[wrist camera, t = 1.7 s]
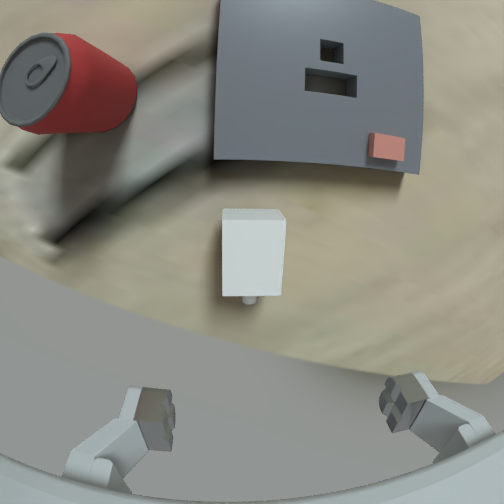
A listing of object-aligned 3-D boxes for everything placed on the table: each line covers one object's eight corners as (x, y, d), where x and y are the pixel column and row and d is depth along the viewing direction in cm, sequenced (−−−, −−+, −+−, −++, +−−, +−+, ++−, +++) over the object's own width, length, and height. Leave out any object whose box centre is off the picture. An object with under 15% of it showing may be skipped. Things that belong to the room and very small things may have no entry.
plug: (223, 282, 29) (222, 313, 24) (223, 203, 26) (222, 219, 21) (270, 282, 30) (279, 313, 24) (274, 204, 27) (286, 220, 22)
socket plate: (215, 157, 25) (213, 160, 22) (222, -9, 19) (222, -27, 16) (405, 170, 26) (424, 176, 23) (406, 22, 21) (424, 13, 18)
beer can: (150, 109, 23) (93, 91, 12) (88, 145, 24) (6, 158, 12) (124, 49, 21) (61, 3, 9) (65, 87, 21) (-18, 72, 10)
